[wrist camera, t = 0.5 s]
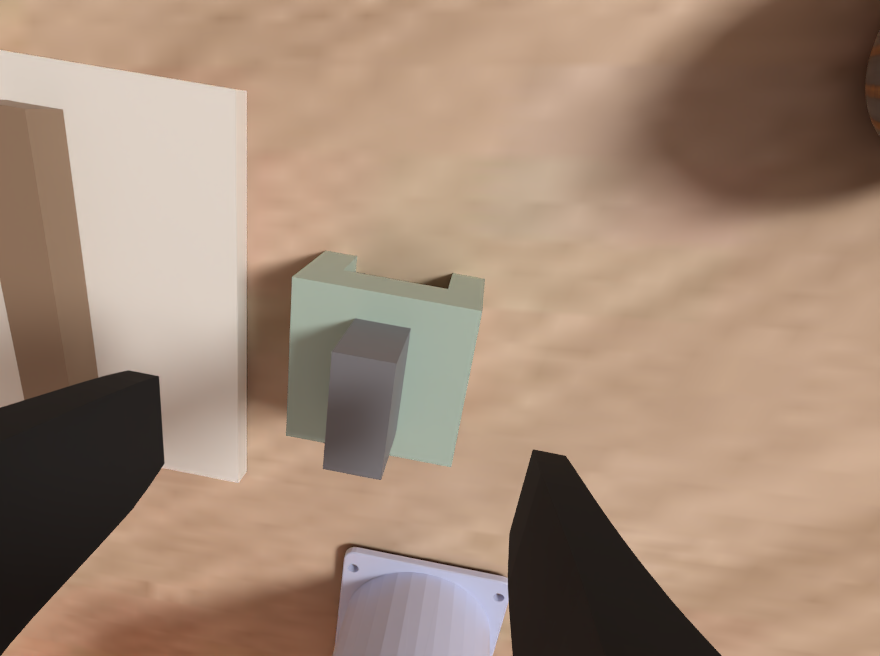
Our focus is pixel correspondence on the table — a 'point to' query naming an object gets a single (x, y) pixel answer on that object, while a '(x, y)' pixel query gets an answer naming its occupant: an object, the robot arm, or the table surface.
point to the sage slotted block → (378, 364)
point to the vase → (874, 85)
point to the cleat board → (127, 245)
